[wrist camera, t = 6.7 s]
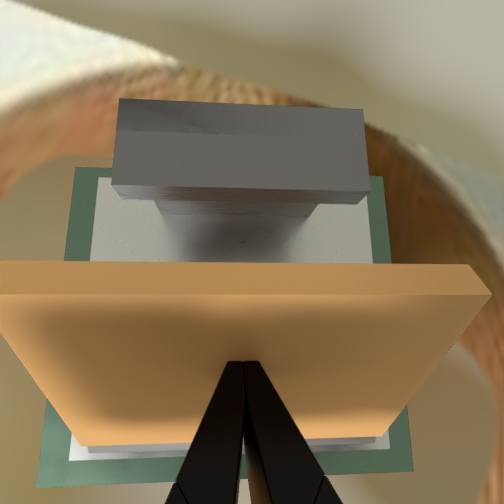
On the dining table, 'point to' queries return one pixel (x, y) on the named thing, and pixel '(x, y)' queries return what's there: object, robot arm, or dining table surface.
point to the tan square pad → (230, 341)
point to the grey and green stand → (226, 234)
